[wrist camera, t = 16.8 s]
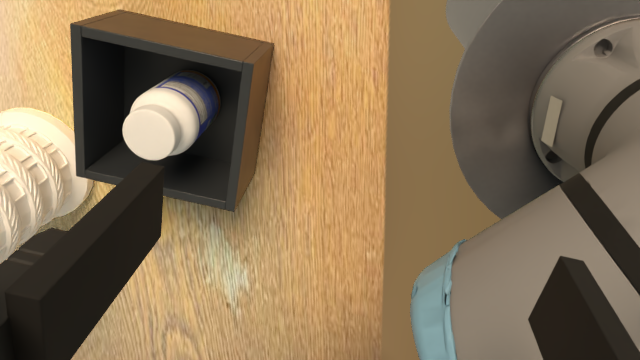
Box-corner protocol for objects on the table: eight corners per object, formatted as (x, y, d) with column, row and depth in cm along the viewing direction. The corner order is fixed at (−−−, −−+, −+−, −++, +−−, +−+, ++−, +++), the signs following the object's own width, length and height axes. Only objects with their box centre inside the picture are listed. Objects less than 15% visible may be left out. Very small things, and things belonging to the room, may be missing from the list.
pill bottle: (183, 135, 47) (138, 181, 38) (152, 82, 45) (97, 118, 36) (233, 113, 45) (198, 155, 36) (203, 58, 43) (158, 89, 34)
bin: (274, 43, 42) (253, 63, 36) (255, 173, 48) (234, 212, 41) (119, 9, 43) (69, 23, 36) (118, 142, 48) (75, 176, 42)
